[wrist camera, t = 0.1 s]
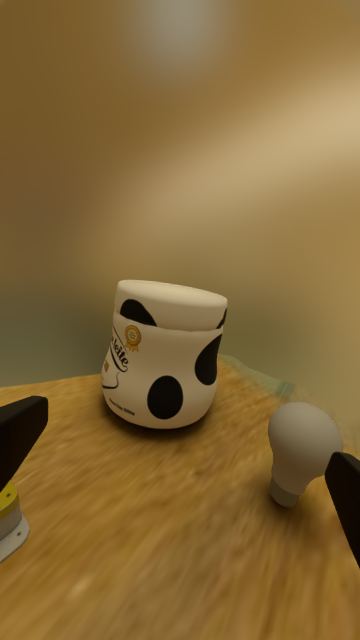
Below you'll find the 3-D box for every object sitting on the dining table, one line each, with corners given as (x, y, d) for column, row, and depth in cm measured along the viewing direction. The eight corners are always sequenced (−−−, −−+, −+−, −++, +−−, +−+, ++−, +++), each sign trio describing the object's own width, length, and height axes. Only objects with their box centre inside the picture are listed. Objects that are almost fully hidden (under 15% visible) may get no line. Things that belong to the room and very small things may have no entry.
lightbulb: (324, 545, 20) (371, 443, 17) (253, 522, 20) (286, 421, 18) (301, 482, 25) (333, 398, 23) (246, 466, 26) (271, 383, 24)
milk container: (75, 396, 33) (81, 276, 29) (154, 365, 47) (166, 280, 43) (161, 470, 24) (189, 308, 20) (228, 404, 38) (254, 301, 33)
